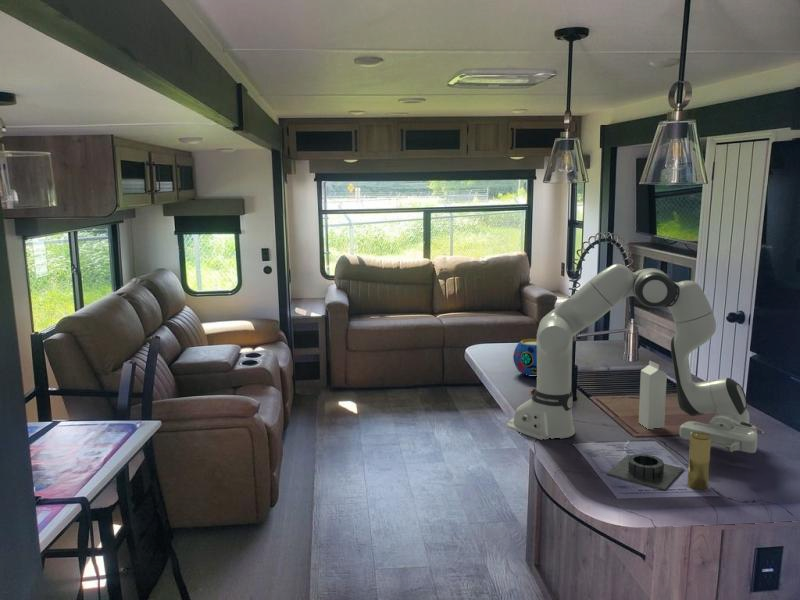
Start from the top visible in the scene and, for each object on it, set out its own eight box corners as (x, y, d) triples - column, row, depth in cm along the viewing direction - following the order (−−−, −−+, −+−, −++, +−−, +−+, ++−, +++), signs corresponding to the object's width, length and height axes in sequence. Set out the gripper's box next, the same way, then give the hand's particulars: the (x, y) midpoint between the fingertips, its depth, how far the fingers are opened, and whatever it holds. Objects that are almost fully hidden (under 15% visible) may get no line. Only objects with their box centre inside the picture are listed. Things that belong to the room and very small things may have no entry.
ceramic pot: (517, 382, 268) (517, 347, 266) (509, 370, 286) (510, 337, 283) (559, 381, 268) (559, 346, 266) (549, 369, 286) (549, 336, 283)
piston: (684, 486, 172) (688, 435, 170) (690, 480, 176) (693, 429, 173) (704, 492, 169) (708, 439, 166) (710, 485, 173) (713, 433, 170)
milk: (654, 422, 219) (657, 359, 216) (664, 428, 213) (668, 364, 210) (638, 423, 218) (641, 360, 215) (647, 430, 213) (650, 365, 209)
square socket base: (606, 474, 180) (606, 462, 180) (627, 456, 192) (628, 445, 192) (664, 490, 170) (665, 478, 169) (683, 470, 182) (684, 458, 182)
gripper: (687, 412, 196) (672, 426, 186) (762, 427, 183) (751, 442, 172) (686, 432, 197) (671, 446, 187) (761, 448, 184) (749, 464, 174)
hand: (710, 444), depth 179 cm, fingers open, 8 cm apart
